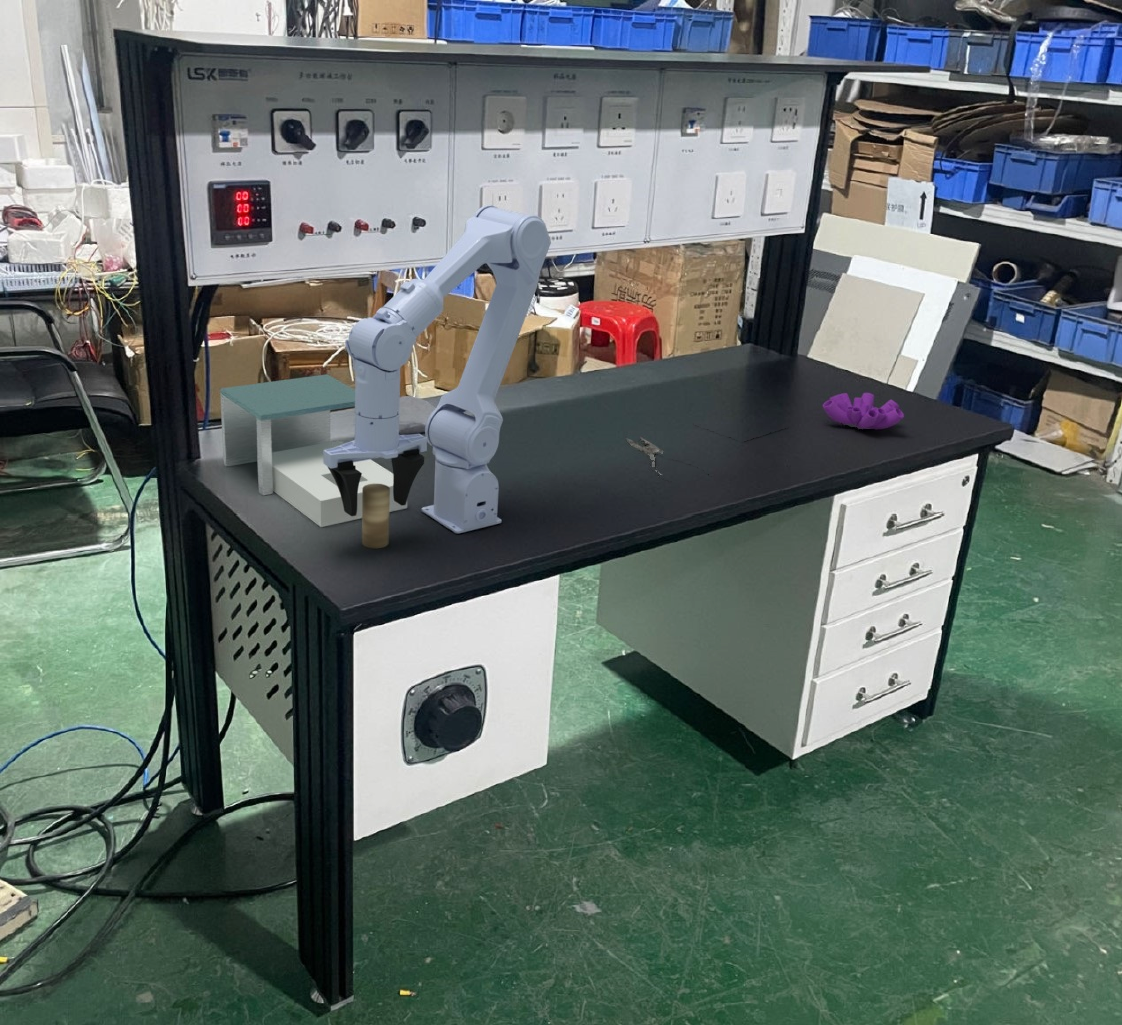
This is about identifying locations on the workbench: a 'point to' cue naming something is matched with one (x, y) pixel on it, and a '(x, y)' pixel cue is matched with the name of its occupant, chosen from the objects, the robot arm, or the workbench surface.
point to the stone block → (413, 415)
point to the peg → (375, 515)
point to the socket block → (322, 483)
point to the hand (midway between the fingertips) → (375, 508)
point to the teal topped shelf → (278, 419)
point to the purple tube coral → (862, 411)
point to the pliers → (646, 449)
